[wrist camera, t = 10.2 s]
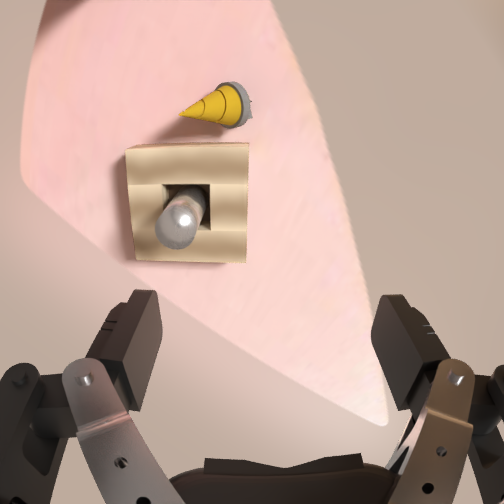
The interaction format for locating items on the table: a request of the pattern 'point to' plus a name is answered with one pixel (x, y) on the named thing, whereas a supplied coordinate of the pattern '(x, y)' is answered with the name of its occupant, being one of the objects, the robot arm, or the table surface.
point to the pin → (182, 217)
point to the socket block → (183, 173)
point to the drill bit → (223, 106)
